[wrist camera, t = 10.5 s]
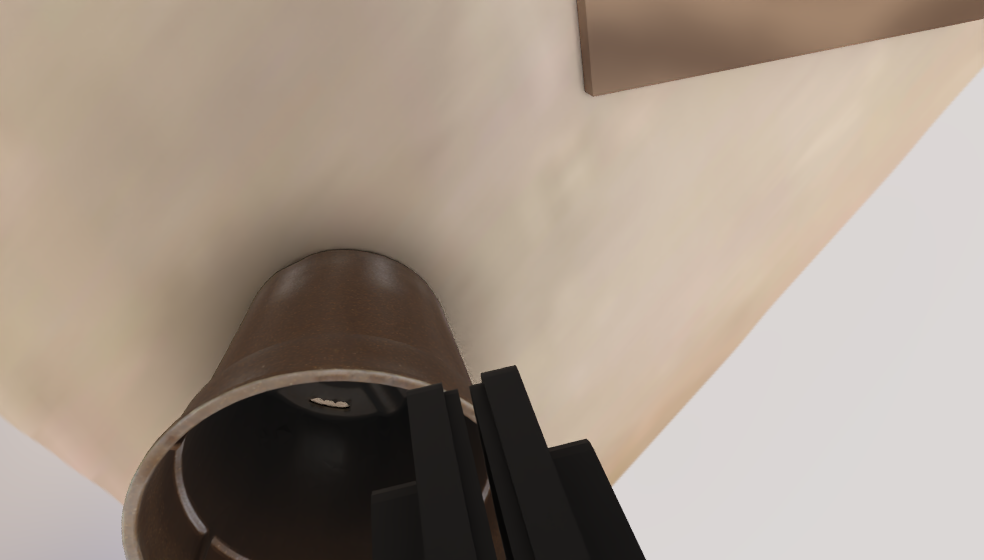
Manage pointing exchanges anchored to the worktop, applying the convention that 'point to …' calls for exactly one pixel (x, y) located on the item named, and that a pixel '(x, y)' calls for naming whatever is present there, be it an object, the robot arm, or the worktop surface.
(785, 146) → the worktop surface
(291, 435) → the plant pot
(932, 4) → the wooden slider board
